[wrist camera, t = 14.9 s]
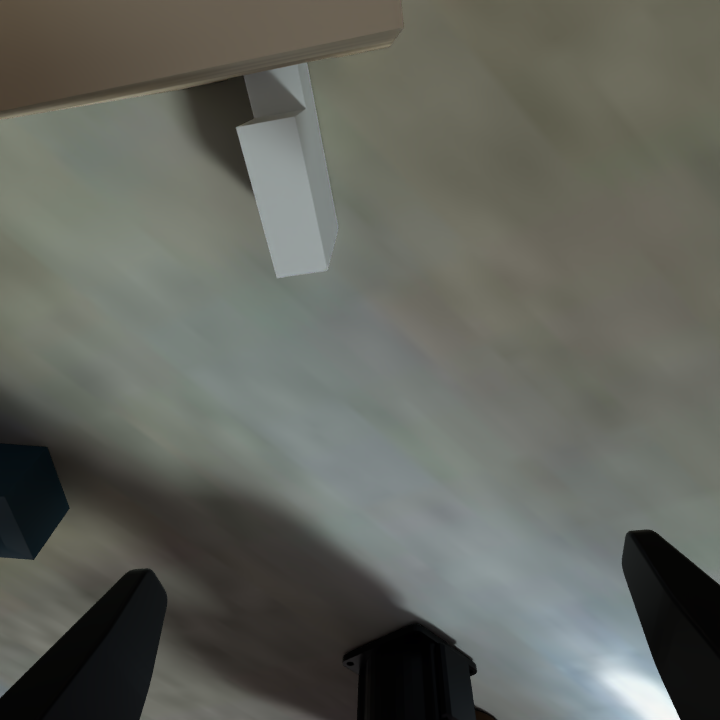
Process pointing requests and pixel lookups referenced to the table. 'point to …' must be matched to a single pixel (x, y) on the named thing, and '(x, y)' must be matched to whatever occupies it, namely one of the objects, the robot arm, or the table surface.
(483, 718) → the olive oil
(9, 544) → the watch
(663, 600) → the robot arm
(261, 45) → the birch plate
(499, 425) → the table surface
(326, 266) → the slotted rail
